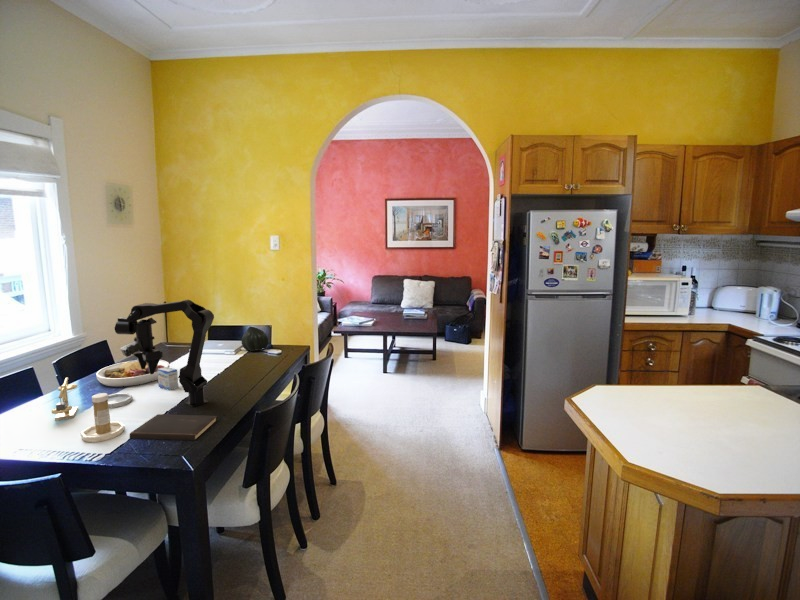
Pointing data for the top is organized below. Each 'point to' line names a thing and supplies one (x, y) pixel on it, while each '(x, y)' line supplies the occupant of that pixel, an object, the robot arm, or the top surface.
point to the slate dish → (119, 399)
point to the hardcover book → (173, 427)
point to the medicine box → (167, 378)
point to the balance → (65, 403)
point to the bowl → (128, 374)
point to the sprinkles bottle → (101, 413)
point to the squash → (254, 339)
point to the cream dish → (92, 436)
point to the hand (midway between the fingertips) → (147, 371)
